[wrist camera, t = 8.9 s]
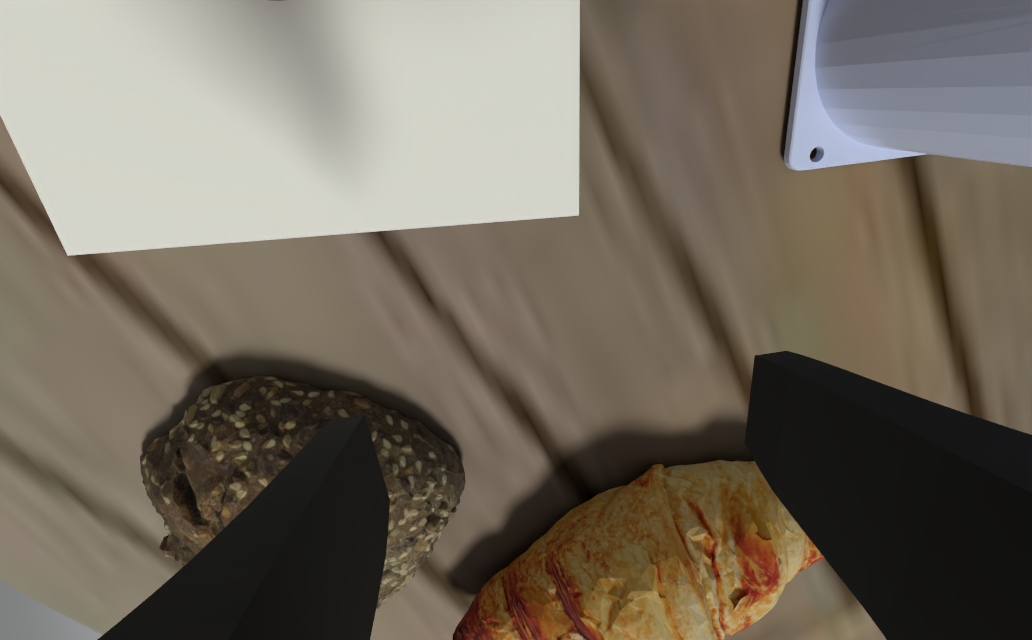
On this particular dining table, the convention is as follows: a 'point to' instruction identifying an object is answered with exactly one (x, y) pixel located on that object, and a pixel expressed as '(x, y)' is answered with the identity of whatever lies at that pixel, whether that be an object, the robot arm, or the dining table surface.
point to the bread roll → (273, 444)
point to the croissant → (651, 562)
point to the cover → (290, 115)
